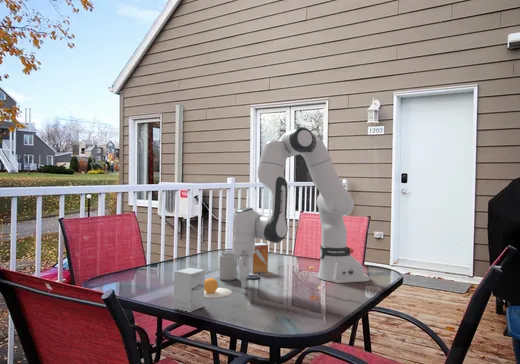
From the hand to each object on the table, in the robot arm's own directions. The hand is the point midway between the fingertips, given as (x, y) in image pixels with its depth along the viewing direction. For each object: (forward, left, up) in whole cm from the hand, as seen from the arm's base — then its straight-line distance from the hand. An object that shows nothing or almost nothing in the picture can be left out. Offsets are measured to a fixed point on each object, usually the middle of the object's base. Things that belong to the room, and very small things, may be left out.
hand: (243, 283), depth 152 cm
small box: (-8, -30, -2) cm, 32 cm away
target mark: (+11, +5, -2) cm, 12 cm away
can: (+6, -16, -2) cm, 18 cm away
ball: (+13, +5, +1) cm, 14 cm away
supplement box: (+19, +22, -2) cm, 29 cm away
